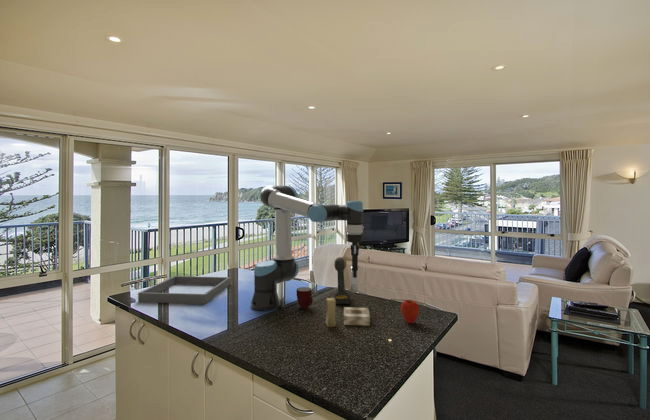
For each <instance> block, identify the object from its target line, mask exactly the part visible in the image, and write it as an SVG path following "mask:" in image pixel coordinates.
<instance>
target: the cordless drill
mask: <svg viewBox="0 0 650 420" xmlns="http://www.w3.org/2000/svg"><path fill="white" fill-rule="evenodd" d="M333 265H334V268H335V271H336V272H337V290H335V292H334V297H333V298H334V299H335V300H336V302H335V305H350V303H351V301H350V300H351V297H350V296H351V294H350V292H349V290H348V289H346V286H345V273H344V272H345V269H346V267H347V260H346V258H344V257H343V256H342V257H341V256H338V257H336V258H335V259H334V264H333Z"/></svg>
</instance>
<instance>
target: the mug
mask: <svg viewBox="0 0 650 420" xmlns="http://www.w3.org/2000/svg"><path fill="white" fill-rule="evenodd" d="M312 290H313V289H312V288H311V287H308V286H300V287H297V288H296V299H297V304H298V307H299V308H300V309H301V310H307V309H308V308H309V307H310V306H311V305H312V304H313V303H314V301H313V300H314V299H313V297H312V295H313V291H312Z"/></svg>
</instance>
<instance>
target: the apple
mask: <svg viewBox="0 0 650 420" xmlns="http://www.w3.org/2000/svg"><path fill="white" fill-rule="evenodd" d="M400 313H401V315H402V317H403V318H404V320H405V322H406V323H408V324H413V323H414V322H415V321H416V320H417V318H418V316H419V314H420V307H419V305H418V303H417V301H415V300H411V299H405V300H404V301H403V302H402V303H401V306H400Z"/></svg>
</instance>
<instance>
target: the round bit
mask: <svg viewBox="0 0 650 420" xmlns="http://www.w3.org/2000/svg"><path fill="white" fill-rule="evenodd" d="M351 269H352V265H351V266H350V292H351V293H354V294H355V293H359V283H358V284H352V270H351Z"/></svg>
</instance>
